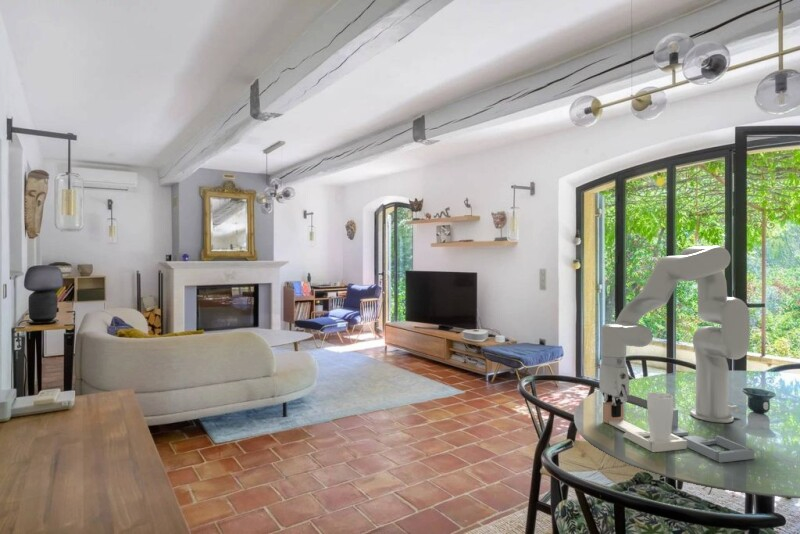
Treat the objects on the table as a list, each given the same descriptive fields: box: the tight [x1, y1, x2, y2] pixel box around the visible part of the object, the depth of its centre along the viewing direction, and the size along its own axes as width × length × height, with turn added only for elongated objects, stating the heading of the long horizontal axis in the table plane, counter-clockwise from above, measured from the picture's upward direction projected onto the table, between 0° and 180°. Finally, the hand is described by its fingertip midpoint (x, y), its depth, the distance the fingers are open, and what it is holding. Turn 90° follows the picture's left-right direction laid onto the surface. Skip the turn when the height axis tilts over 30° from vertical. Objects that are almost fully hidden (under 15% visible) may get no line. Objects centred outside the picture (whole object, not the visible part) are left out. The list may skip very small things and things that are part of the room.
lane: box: [602, 401, 688, 453], centre depth 149 cm, size 11×26×6 cm, turn 13°
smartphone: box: [626, 394, 647, 409], centre depth 183 cm, size 7×1×16 cm
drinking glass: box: [646, 391, 675, 442], centre depth 140 cm, size 7×7×15 cm
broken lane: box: [671, 408, 755, 463], centre depth 142 cm, size 11×26×6 cm, turn 13°
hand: (613, 414), depth 161 cm, fingers closed on lane, 2 cm apart
